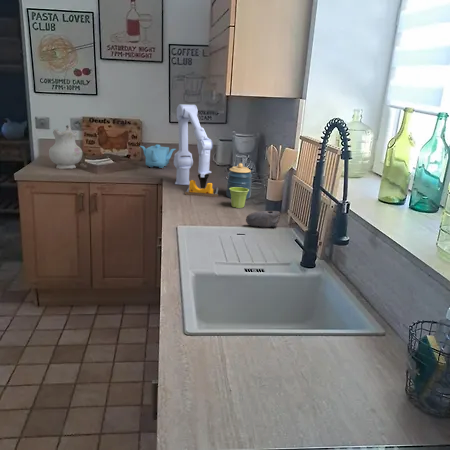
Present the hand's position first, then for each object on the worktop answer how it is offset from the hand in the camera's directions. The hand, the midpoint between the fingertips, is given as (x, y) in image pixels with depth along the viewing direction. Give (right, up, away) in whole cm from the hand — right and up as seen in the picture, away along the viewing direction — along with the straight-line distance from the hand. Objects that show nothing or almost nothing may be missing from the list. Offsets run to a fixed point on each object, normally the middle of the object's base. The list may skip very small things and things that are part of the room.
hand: (202, 188), depth 248 cm
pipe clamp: (-1, -3, -2) cm, 4 cm away
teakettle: (-33, +18, +58) cm, 69 cm away
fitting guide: (0, -2, 0) cm, 2 cm away
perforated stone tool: (+28, -21, -50) cm, 60 cm away
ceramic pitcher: (-86, +16, +41) cm, 97 cm away
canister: (+19, -5, -3) cm, 20 cm away
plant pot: (+18, -11, -22) cm, 30 cm away
